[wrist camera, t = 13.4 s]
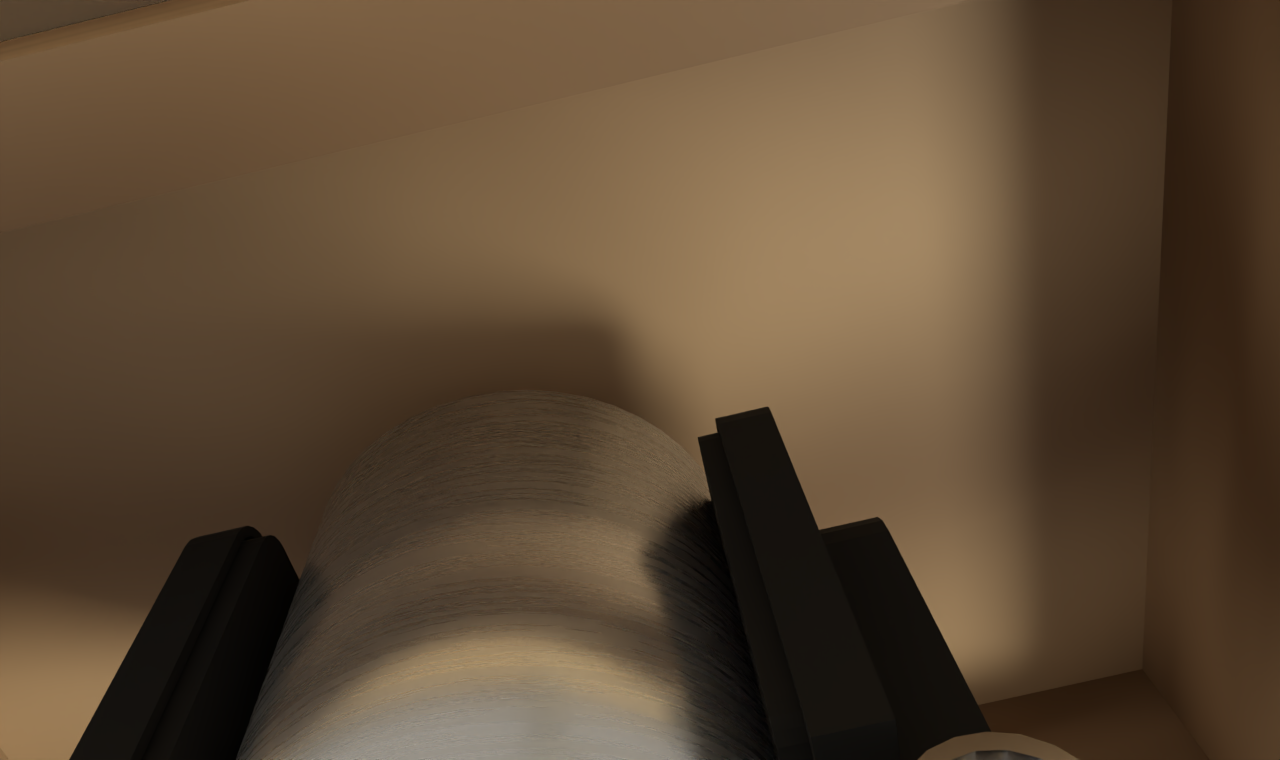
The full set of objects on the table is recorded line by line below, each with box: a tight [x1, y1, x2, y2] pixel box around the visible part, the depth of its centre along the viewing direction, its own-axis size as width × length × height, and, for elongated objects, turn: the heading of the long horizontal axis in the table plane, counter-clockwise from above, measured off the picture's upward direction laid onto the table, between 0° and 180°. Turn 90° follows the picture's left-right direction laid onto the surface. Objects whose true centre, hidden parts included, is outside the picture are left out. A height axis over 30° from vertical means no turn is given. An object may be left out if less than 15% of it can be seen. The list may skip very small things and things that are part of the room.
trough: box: [0, 0, 1280, 760], centre depth 10 cm, size 12×17×4 cm
